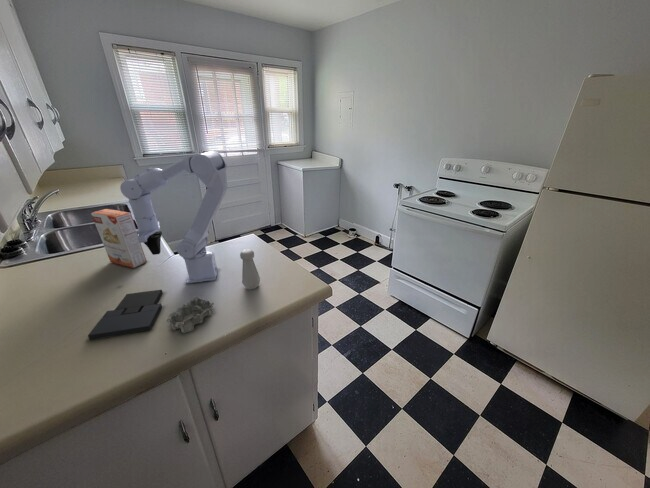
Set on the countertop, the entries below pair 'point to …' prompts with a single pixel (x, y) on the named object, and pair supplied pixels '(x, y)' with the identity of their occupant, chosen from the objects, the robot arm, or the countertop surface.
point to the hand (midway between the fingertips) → (156, 253)
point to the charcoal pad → (125, 322)
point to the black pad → (139, 301)
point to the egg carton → (190, 314)
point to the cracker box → (119, 237)
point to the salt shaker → (249, 270)
